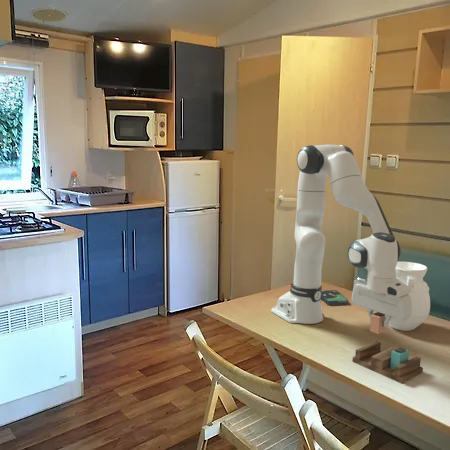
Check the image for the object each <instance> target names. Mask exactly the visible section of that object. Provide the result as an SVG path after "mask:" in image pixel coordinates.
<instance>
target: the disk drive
mask: <svg viewBox="0 0 450 450" xmlns="http://www.w3.org/2000/svg"><path fill="white" fill-rule="evenodd" d="M323 301H324V302H325V303H326V304H327V305H326V304H325V303H324V302H323ZM321 302H323V303H324V304H325V305H326V306H344V305H345V306H348V305H349V299H348V298H347V297H346V296H344V295H343V294H342V293H340V292H339V291H338V290H336V289H331V290H330V289H329V290H328V289H327V290H322V294H321Z"/></svg>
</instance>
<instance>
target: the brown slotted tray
mask: <svg viewBox="0 0 450 450" xmlns="http://www.w3.org/2000/svg"><path fill="white" fill-rule="evenodd" d="M381 345H382V342H381V341H378V340H376V341H374V342H370V343H369V344H366V345H364V346H361V347H359V348H356V349H355V354H354V355H355V356H352V360H351V361H352V362H353V363H355V364H357V365H359V366H362V367H364V368H367V369H368V370H371V371H373V372H376V373H377V374H380V375H381V376H384V377H386V378H388V379H391V380H393V381H395V382H398V383H400V384H404V383H406V382H407V381H409V380H411V379H413V378H414V377H416V376H419V375H420V374H422V373H423V372H424V368H423V367H422V366H421V361H422V358H421V357H420V356H417V355H415V356H413V357H412V358H410V359H408V361H406V362H404V363H402V364H400V365H398V366H396V368H395V369H392V368H390V365H391V353H392V351H393V350H395V349H397V347H394V346H392V347H389V348H387V349H385V350H381V349H382V348H381V347H382V346H381Z"/></svg>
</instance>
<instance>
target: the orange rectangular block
mask: <svg viewBox="0 0 450 450" xmlns="http://www.w3.org/2000/svg"><path fill="white" fill-rule="evenodd" d="M373 313H374V314H373V315H371V322H370V327H369V328H370V332H371V333H375V334H378V335H379V334H381V333H384V332H386V331H387V330H388V327H383V326H382V321H384V320H386V317H385V314H382V313H379V312H376V311H375V312H373Z"/></svg>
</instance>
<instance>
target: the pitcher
mask: <svg viewBox="0 0 450 450" xmlns="http://www.w3.org/2000/svg"><path fill="white" fill-rule="evenodd" d="M427 271H428V267H427V266H426V265H424V264H422V263H418V262H413V261H397V265H396V278H397V279H398V280H400V281H401V282H403V283H404V284H406V285H407V286H409V287H410V288H411V292H410V293H409V294H408V295H409V296H410V297H411V301H412V313H411V316H410V317H409V318H408V319H405V320H401V319H398V318H395V317H392V318H391V320H390V321H389V326H390V327H391V328H393V329H395V330H398V331H399V330H400V331H405V332H407V331H408V332H409V331H413V330H415V329H416V328H418V327H419V326H420V325H421V324H423V322H425V321H426V319H427V318H428V316H429V314H430V312H431V311H430V310H431V298H430V292H429V291H430V287H429V286H428V283H427V282H426V281H425V280H424V277H425V275H426V273H427Z"/></svg>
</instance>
